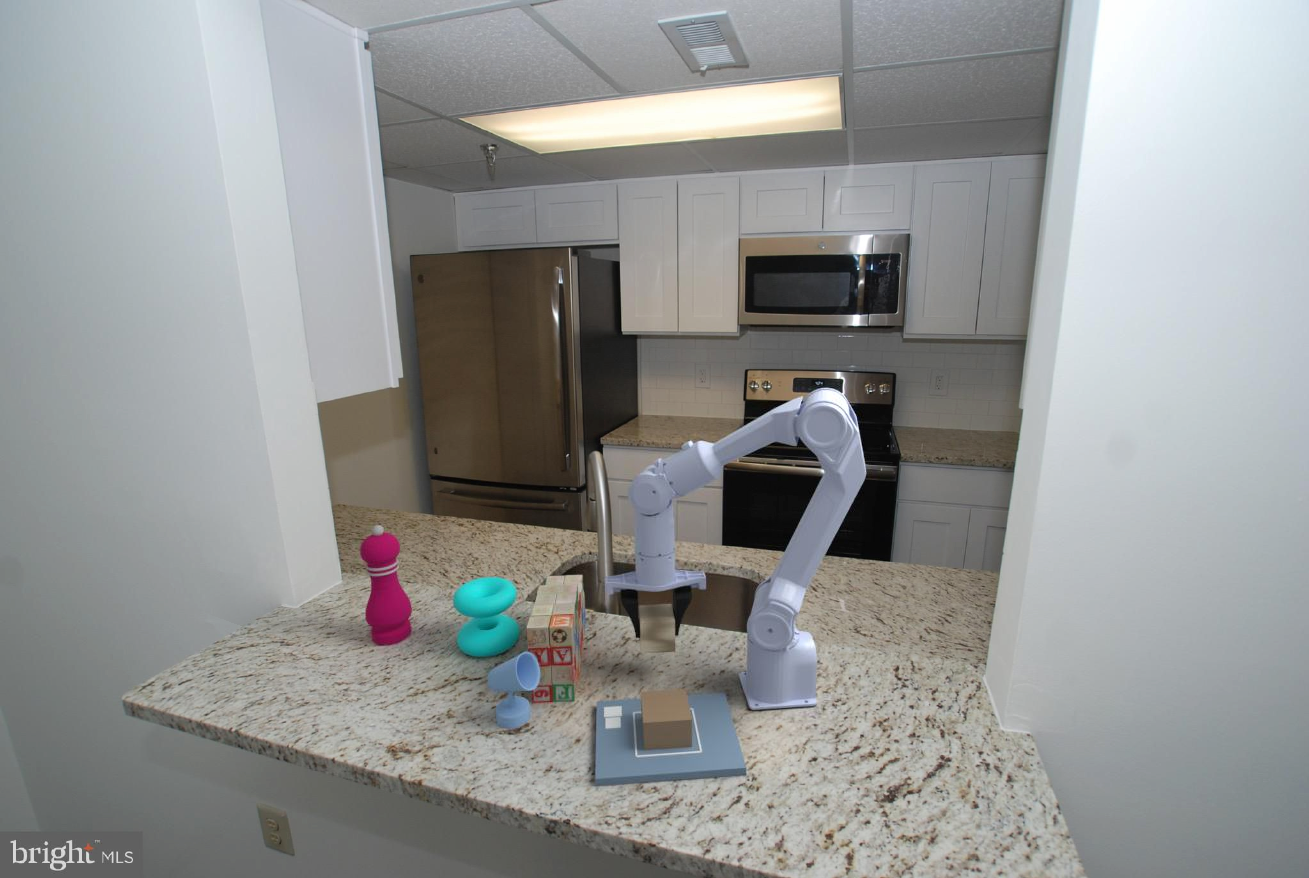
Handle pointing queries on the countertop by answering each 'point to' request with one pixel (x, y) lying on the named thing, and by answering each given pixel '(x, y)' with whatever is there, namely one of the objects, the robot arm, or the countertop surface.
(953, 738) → the countertop surface
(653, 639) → the maple block
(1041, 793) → the countertop surface
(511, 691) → the spotlight
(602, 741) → the blueprint board
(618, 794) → the countertop surface
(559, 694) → the stack of blocks
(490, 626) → the donuts
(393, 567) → the pepper mill
